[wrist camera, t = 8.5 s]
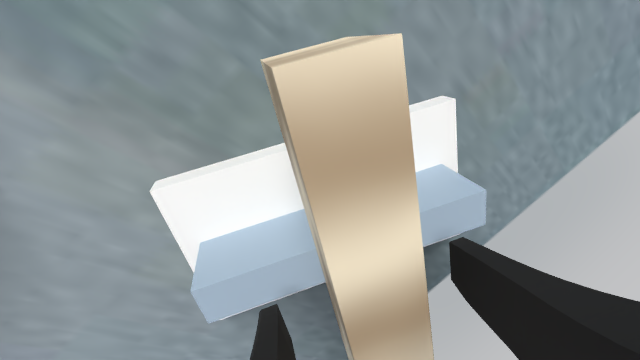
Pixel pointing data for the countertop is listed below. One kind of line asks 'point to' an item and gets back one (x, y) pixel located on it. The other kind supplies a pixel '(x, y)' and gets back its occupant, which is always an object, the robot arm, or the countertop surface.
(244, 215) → the ridge stand
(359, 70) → the beam
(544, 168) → the countertop surface
